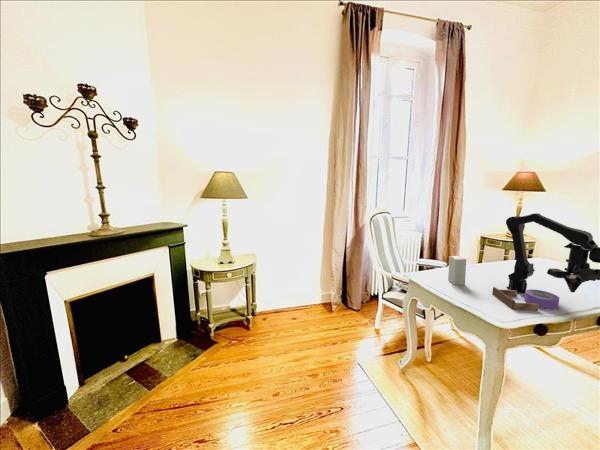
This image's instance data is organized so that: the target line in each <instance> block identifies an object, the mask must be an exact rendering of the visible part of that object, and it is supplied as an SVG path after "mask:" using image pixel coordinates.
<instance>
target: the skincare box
mask: <svg viewBox="0 0 600 450" xmlns="http://www.w3.org/2000/svg"><path fill="white" fill-rule="evenodd" d="M466 268H467V258H464V257H462V256H460V255H449V256H448V276H447V281H449V282H451V284H453V285H456V286H457V285H458V286H465V285H466V270H467V269H466Z"/></svg>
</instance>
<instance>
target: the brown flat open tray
mask: <svg viewBox="0 0 600 450" xmlns="http://www.w3.org/2000/svg"><path fill="white" fill-rule="evenodd" d="M491 294H492V296H494V297H495V298H497V300H499V301H500V302H501V303H502V304H504V305H505V306H507V308H510V310H515V309H520V310H519V311H530V310H532V311H533V312H538V311H539V309H540V308H539V304H531V303H525V302H516V300H514V299H513V298H511V297H515V298H516V297H517V294H518V292H517V291H516V290H510V289H500V288H499V289H498V288H497V287H494V286H492V293H491Z"/></svg>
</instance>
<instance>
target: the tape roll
mask: <svg viewBox="0 0 600 450" xmlns="http://www.w3.org/2000/svg"><path fill="white" fill-rule="evenodd" d="M523 299H524V300H523V301H524V303H525V302H526V303H531V304H539V309H540V308H542V310H546V309H549V310H548V311H556V310H555V309H557V310H558V309H559V304H560V297H559V296H558V295H557V294H554V293H552V292H548V291H546V290H540V289H526V291H525V293H524V298H523Z"/></svg>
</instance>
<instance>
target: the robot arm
mask: <svg viewBox="0 0 600 450" xmlns="http://www.w3.org/2000/svg"><path fill="white" fill-rule="evenodd" d="M528 223H535V224H538V225H540V226H541V227H544V228H546V229H549V230H550V231H553V232H554V233H558V234H559V235H561V236H563V237H564V239H566V240H568V241H569V243H568V244H566V245H564V246H563V247H564V248H565V249H570V250H569V254H568V259H567V258H565V262H567V267H564V270H562V269H559V268H548V269H547V272H546V274H547V275H549V276H551V277H554V278H557V279H564V281H565V283H566V285H567V287H568V289H569V292H570V293H575V292H576V291H577V290H578V289H579V287H580V286H581V285H582V284H583V283H585V282H589V281H591V282H596V281H600V268H591V265H590V263H589V262H588V259H589V260H590V261H591V262H592V263H598V264H600V247H599V245H598V244H597V243H596V242H595V240H594V239H593V238H594V236H593V234H592V233H591V232H589V231H586V230H583V229H579V228H574V227H570V226H567V225H565V224H562V223H560V222H558V221H556V220H553V219H551V218H549V217H546V216H544V215H542V214H540V213H537V212H536V213H531V214H528V215H523V216H520V215H514V216H510V217H508V218H507V219H506V220H505V225H506V226H507V229H508V231H509V232H510V234H511V237H512V244H513V250H514V256H515V264H514V266H513V267H514V268H513V269H514V271H513V272H511V273H510V274H508V275H507V276H508V277H507V278H508V279H509V280H508V286H506V288H507V290H516V291H517V293H521V294H523V293H524V294H525V291H526V290H527V288H528V287H527V286H528V283H527V279H528V278H530V277H532V276H533V275H534V273H535V272H536V270H535V268H534V266H535V265H534V263H532V262H531V263H530V261H529V260H528V257H527V256H528V255H527V250H526V249H527V248H526V243H525V238H524V231H525V227H526V225H525V224H528Z"/></svg>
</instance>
